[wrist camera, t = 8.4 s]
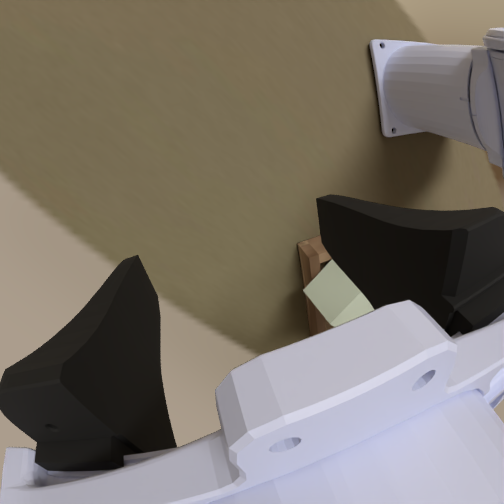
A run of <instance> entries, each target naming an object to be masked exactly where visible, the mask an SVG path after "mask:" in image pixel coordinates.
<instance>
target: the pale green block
mask: <svg viewBox="0 0 504 504" xmlns="http://www.w3.org/2000/svg"><path fill="white" fill-rule="evenodd" d="M303 291H304V292H305V294H306V295H307V296H308V297H309V299H310V300H311V301H312V302H313V304H314V305H315V306H316V307H317V309H318V310H319V311H320V312H321V314H322V315H323V316H324V317H325V319H326V320H327V321H328V322H329V324H331V325H332V326H334V327H336V326H338V325H341V324H343V323H346V322H348V321H350V320H353V319H355V318H357V317H360V316H362V315H364V314H367V313H369V312H371V311H373V310H374V308H373V307H372V305H371V304H370V302H369V301H368V300H367V298H366V297H365V296H364V295H363V293H362V292H361V291H360V290H359V289H358V288H357V287H356V286H355V284H354V283H353V282H352V281H351V280H350V279H349V278H348V277H347V275H346V274H345V273H344V272H343V271H342V270H341V269H340V268H339V266H338V265H337V264H336V263H335V262H334V261H333V259H332V260H331V261H330V262H329V263H328V264H327V265H326V266H325V267H324V268H323V269H322V271H321V272H320V273H319V274H318V275H317V276H316V277H315V278H314V279H313V280H312V281H311V282H310V283H309V284H308V285H307V287H306V288H305V289H304V290H303Z"/></svg>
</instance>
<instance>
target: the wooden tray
mask: <svg viewBox="0 0 504 504" xmlns="http://www.w3.org/2000/svg"><path fill="white" fill-rule="evenodd" d="M297 245H298V252H299V258H300V265H301V271H302V278H303V285H304V289H305V288H306V287H307V285H308V284H309V283H310V282H311V281H312V280H313V279H314V278H315V277H316V276H317V275H318V274H319V273H320V272H321V271H322V269H323V268H324V267H325V266H326V265H327V264H328V263H329V262H330V261H331V260H332V258H331V257H330V255H329V254H328V252H327V251H326V249H325V247H324V246H323V244H322V243H321V236H318V237H314V238H311V239H308V240H305V241H302V242H299V243H297ZM305 299H306V306H307V313H308V321H309V329H310V337H311V336H313V335H316V334H319V333H321V332H324V331H326V330H329V329H331V328H334V326H332V325H331V324H329V322H328V321H327V320H326V319H325V317H324V316H323V315H322V314H321V312H320V311H319V310H318V309H317V307H316V306H315V305H314V304H313V302H312V301H311V300H310V299H309V297H308V296H307V295H306V294H305Z"/></svg>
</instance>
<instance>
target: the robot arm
mask: <svg viewBox="0 0 504 504" xmlns="http://www.w3.org/2000/svg"><path fill="white" fill-rule="evenodd" d="M483 42H484V45H485V46H474V45H437V44H430V43H421V42H410V41H397V40H371V41H370V51H371V56H372V61H373V67H374V73H375V79H376V86H377V93H378V100H379V108H380V117H381V126H382V133H383V135H384V136H385V137H394V136H400V135H406V134H412V133H418V132H425V131H427V132H431V133H434V134H437V135H441V136H444V137H447V138H450V139H454V140H457V141H460V142H463V143H466V144H469V145H472V146H474V147H477V148H480V149H483V150H485V151H487V153H488V157H489V162H490V163H492V164H495V165H497V166H499V167H502V173H503V178H504V28H491V29H489V30H488V31H487V33H486V35H484V36H483ZM380 44H381V45H382V48H381V47H380ZM392 128H393V129H394V130H393V132H392ZM316 201H317V209H318V217H319V225H320V234H321V243H322V244H323V246H324V247H325V249H326V251H327V252H328V254H329V255H330V257H331V258H332V259H333V261H334V262H335V263H336V264H337V265H338V266H339V268H340V269H341V270H342V271H343V272H344V273H345V274H346V275H347V277H348V278H349V279H350V280H351V281H352V282H353V283H354V284H355V286H356V287H357V288H358V289H359V290H360V291H361V292H362V293H363V295H364V296H365V297H366V298H367V300H368V301H369V302H370V304H371V305H372V307H373V308H374V310H373V311H371V312H369V313H367V314H364V315H362V316H360V317H357V318H355V319H353V320H350V321H348V322H346V323H343V324H341V325H338V326H336V327H334V328H331V329H329V330H326V331H324V332H321V333H319V334H316V335H313V336H311V337H308V338H306V339H303V340H300V341H298V342H295V343H292V344H289V345H287V346H284V347H281V348H278V349H275V350H273V351H270V352H267V353H264V354H261V355H259V356H257V357H255V358H253V359H251V360H249V361H247V362H245V363H244V364H241V365H240V366H238V367H236V368H234V369H233V370H231V371H230V372H229V374H228V375H227V376H226V377H225V379H224V380H223V381H222V382H221V383H220V385H219V386H218V387H217V388H216V389H215V394H216V406H217V411H218V415H219V420H220V424H221V429H220V430H218V431H216V432H214V433H211V434H209V435H207V436H204V437H202V438H200V439H198V440H195V441H193V442H191V443H188V444H186V445H183V446H181V447H177V445H176V442H175V439H174V435H173V431H172V427H171V423H170V419H169V414H168V410H167V405H166V400H165V395H164V388H163V382H162V375H161V363H160V310H159V302H158V296H157V294H156V292H155V290H154V288H153V285H152V283H151V281H150V279H149V277H148V275H147V273H146V271H145V269H144V267H143V265H142V262H141V260H140V258H139V256H138V255H136V256H133V257H130V258H127V259H125V260H123V261H122V262H121V263H120V264H119V265H118V266H117V267H116V269H115V270H114V271H113V272H112V274H111V275H110V276H109V277H108V279H107V280H106V281H105V282H104V284H103V285H102V286H101V288H100V289H99V290H98V291H97V292H96V293H95V295H94V296H93V297H92V298H91V299H90V301H89V302H88V303H87V304H86V306H85V307H84V308H83V309H82V310H81V311H80V312H79V313H78V314H77V315H76V316H75V317H74V318H73V319H72V320H71V321H70V322H69V323H68V324H67V325H66V326H65V327H64V328H62V329H61V330H60V331H59V332H58V333H57V334H56V335H55V336H53V337H52V338H51V339H50V340H49V341H47V342H46V343H45V344H43V345H42V346H41V347H40V348H38V349H37V350H36V351H34V352H33V353H31V354H30V355H28V356H27V357H25V358H23V359H22V360H20V361H19V362H17V363H15V364H14V365H12V366H10V367H9V368H7V369H5V371H4V374H3V376H2V379H1V382H0V410H1V411H2V413H3V414H4V415H5V416H6V417H7V418H8V419H9V420H10V421H11V422H12V423H13V424H14V425H15V426H17V427H18V428H19V429H20V430H22V431H23V432H25V434H27V435H28V436H30V437H31V438H32V439H33V440H35V441H36V442H37V446H36V450H33V449H30V448H26V447H7V448H6V453H5V460H4V466H3V474H2V483H1V493H0V504H504V423H503V422H502V421H501V419H500V418H499V417H498V415H497V414H496V413H495V411H494V410H493V409H494V408H495V407H496V406H497V405H498V404H499V403H500V402H501V401H502V400H503V399H504V212H503V211H501V210H499V209H497V208H495V207H488V208H480V209H472V210H456V211H435V210H417V209H408V208H400V207H394V206H388V205H383V204H378V203H373V202H368V201H364V200H359V199H355V198H350V197H345V196H340V195H327V196H323V197H320V198H316Z"/></svg>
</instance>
